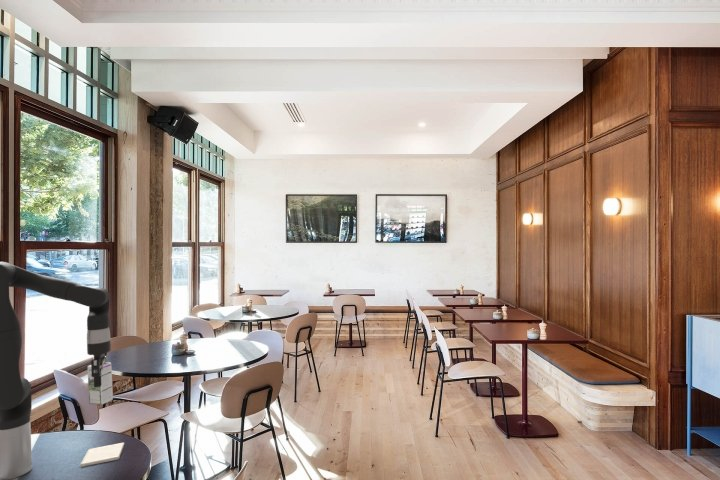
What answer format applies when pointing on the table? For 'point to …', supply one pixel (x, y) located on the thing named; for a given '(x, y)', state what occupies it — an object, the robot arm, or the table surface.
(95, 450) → the ceramic tile
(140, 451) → the table surface
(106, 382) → the syrup box
